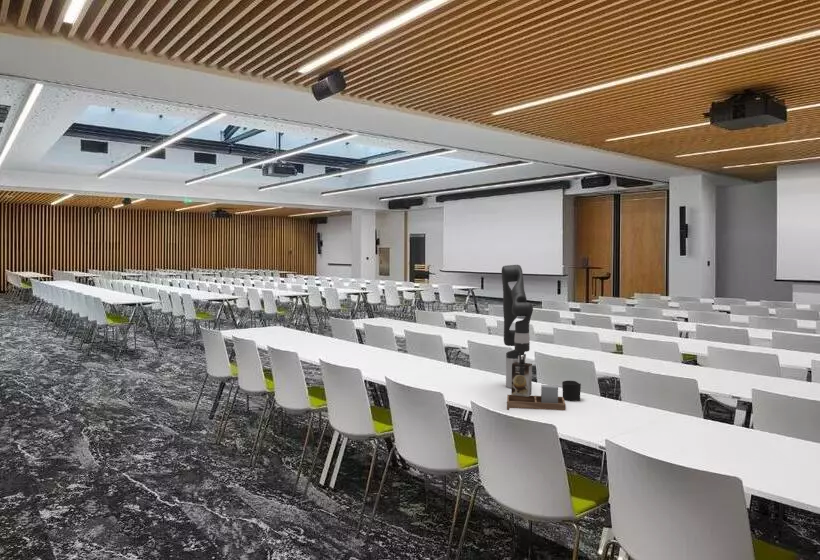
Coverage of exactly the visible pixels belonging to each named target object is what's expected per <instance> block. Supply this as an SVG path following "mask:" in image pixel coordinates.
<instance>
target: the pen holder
mask: <svg viewBox="0 0 820 560" xmlns="http://www.w3.org/2000/svg"><path fill="white" fill-rule="evenodd" d="M561 382H562V383H561V385H562V397H563V398H564V401H566V402H579V401H581V388H582V384H581V383H579V382H578V381H576V380H564V381H561Z"/></svg>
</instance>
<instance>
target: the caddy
mask: <svg viewBox="0 0 820 560" xmlns="http://www.w3.org/2000/svg"><path fill="white" fill-rule="evenodd" d="M506 398H507V399H506V410H508V411H509V410H510V409H525V410H527V409H528V410H550V411H552V410H553V411H566V408H567V407H566V402H565V400H564V398H563V396H558V404H557V403H541V395H530V396H529V397H525V396H517V395H511V394H507V397H506Z"/></svg>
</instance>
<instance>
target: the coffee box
mask: <svg viewBox="0 0 820 560" xmlns="http://www.w3.org/2000/svg"><path fill="white" fill-rule="evenodd" d="M520 365H523V364H519V362H515V363H512V388H511V390H510V391H511V393H510V395H517V396H525V397H529V396H532V394H533V393H532V389H533V388H532V381H533V364H532V363H528V362H525V364H524V366H525V367H524V375H520V367H519V366H520Z"/></svg>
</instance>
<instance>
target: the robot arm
mask: <svg viewBox="0 0 820 560" xmlns="http://www.w3.org/2000/svg"><path fill="white" fill-rule="evenodd" d="M501 281H502V299H503V300H502V312H503V343H504V345H505V346H507V347H514V349H512V350H509V351H507V352H506V355H505V387H506V388H508V389H512V363H515V362H519V364H523V365H520V366H519V367H520V375H524V367H525V366H524V364H525V363H526V358H527V354H526V352H527V353H528V352H530V350H531V349H530V344H531V343H530V342H531V341H530V340H531V339H530V322H531V318H532V315H533V311H534V306H533V304H532V303H531V302H527V299H528V298H527V294H526V292H525V285H524V284H525V283H524V275H523V269H522V266H521V265H519V264H509V265H503V266H502V267H501ZM515 282H516V283H515ZM509 283H515V284H514V286H513V287H512V288H511V287H510V285H509ZM518 317H524V318H523V319H521V320H516V319H517V318H518ZM515 320H516V321H515ZM514 321H515V323H514ZM513 323H514V324H515V325H514V329H511V326H512V324H513Z"/></svg>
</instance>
